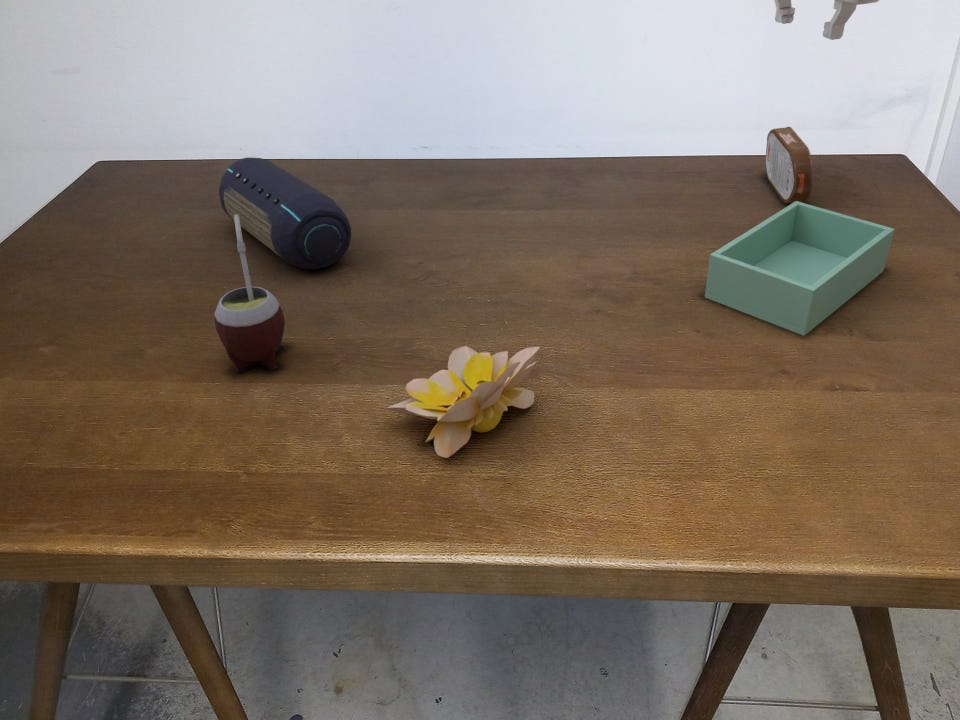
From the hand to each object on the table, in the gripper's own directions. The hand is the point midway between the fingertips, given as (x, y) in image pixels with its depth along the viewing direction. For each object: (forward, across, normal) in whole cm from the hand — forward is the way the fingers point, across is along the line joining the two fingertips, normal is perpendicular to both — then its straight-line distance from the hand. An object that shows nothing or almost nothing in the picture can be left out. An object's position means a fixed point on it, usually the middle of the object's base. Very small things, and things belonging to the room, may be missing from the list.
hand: (806, 30), depth 102 cm
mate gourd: (+24, -10, +74) cm, 78 cm away
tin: (+24, +5, -5) cm, 25 cm away
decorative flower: (+24, -29, +55) cm, 67 cm away
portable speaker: (+25, +18, +67) cm, 73 cm away
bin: (+24, -19, +11) cm, 33 cm away
